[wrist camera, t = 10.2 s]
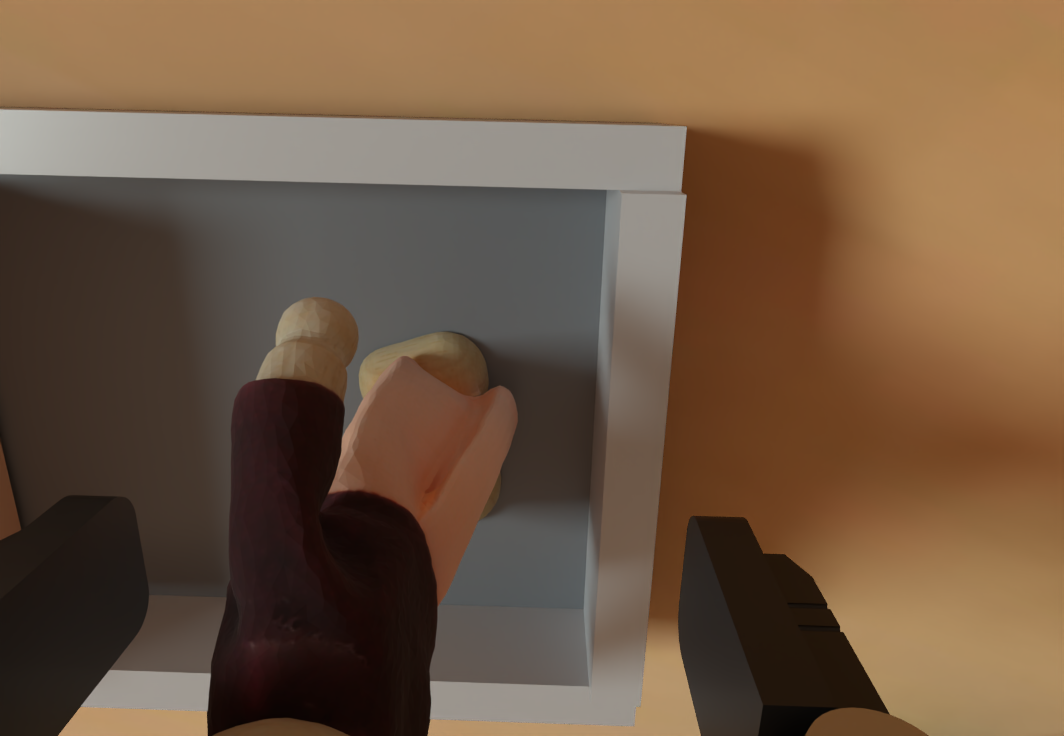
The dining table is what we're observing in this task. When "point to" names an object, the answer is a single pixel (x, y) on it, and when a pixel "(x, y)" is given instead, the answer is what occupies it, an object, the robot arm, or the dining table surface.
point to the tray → (383, 319)
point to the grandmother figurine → (349, 526)
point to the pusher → (7, 503)
